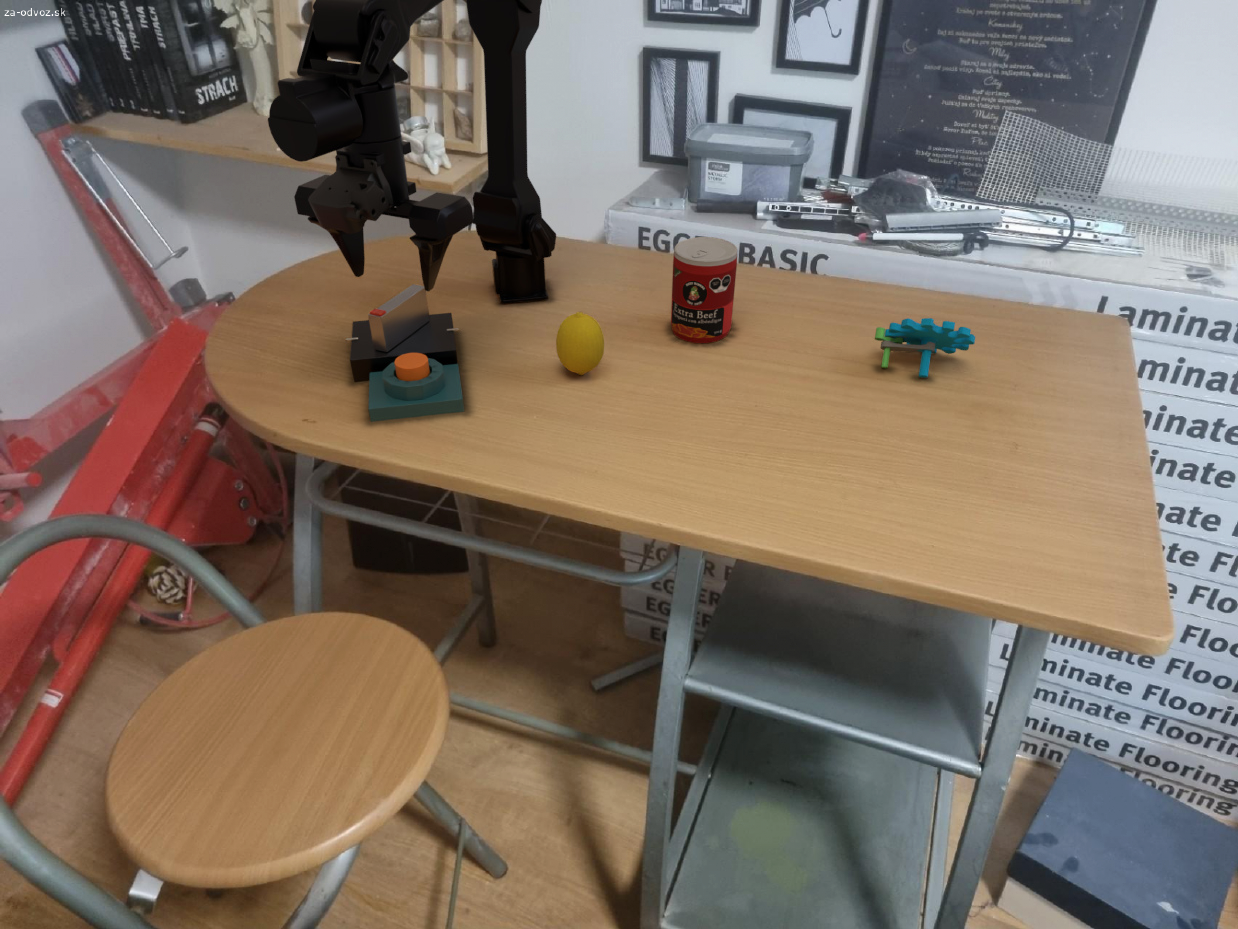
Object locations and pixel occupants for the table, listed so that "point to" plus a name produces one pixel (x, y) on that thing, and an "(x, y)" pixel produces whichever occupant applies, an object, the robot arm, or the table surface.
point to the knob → (399, 318)
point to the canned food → (703, 289)
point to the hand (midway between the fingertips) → (394, 282)
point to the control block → (415, 393)
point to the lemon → (580, 343)
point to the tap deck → (402, 346)
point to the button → (412, 367)
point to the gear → (923, 340)
